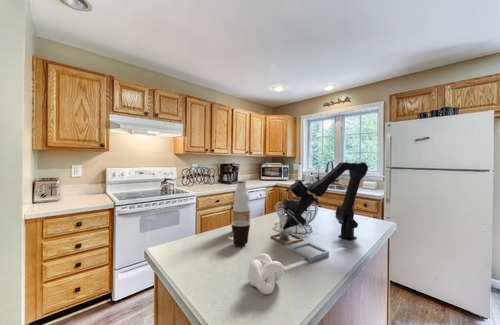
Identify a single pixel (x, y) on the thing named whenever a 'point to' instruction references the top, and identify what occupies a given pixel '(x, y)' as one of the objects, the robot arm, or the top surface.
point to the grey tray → (312, 258)
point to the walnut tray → (291, 240)
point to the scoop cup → (283, 219)
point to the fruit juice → (241, 203)
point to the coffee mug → (240, 233)
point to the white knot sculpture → (264, 273)
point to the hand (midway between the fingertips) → (281, 227)
